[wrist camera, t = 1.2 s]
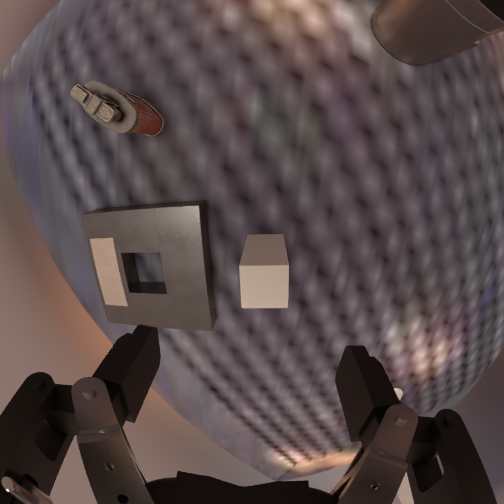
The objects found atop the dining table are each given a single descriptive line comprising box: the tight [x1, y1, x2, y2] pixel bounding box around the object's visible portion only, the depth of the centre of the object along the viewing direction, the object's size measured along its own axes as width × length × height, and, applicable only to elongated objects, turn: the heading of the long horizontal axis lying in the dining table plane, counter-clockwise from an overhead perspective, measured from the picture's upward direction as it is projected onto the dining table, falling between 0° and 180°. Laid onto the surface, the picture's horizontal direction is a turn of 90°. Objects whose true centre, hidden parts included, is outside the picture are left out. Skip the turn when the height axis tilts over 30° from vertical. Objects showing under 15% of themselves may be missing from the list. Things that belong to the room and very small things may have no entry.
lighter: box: [71, 81, 166, 137], centre depth 22 cm, size 8×3×10 cm, turn 50°
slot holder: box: [83, 201, 216, 331], centre depth 31 cm, size 15×15×3 cm
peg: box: [239, 234, 289, 308], centre depth 27 cm, size 4×4×9 cm
